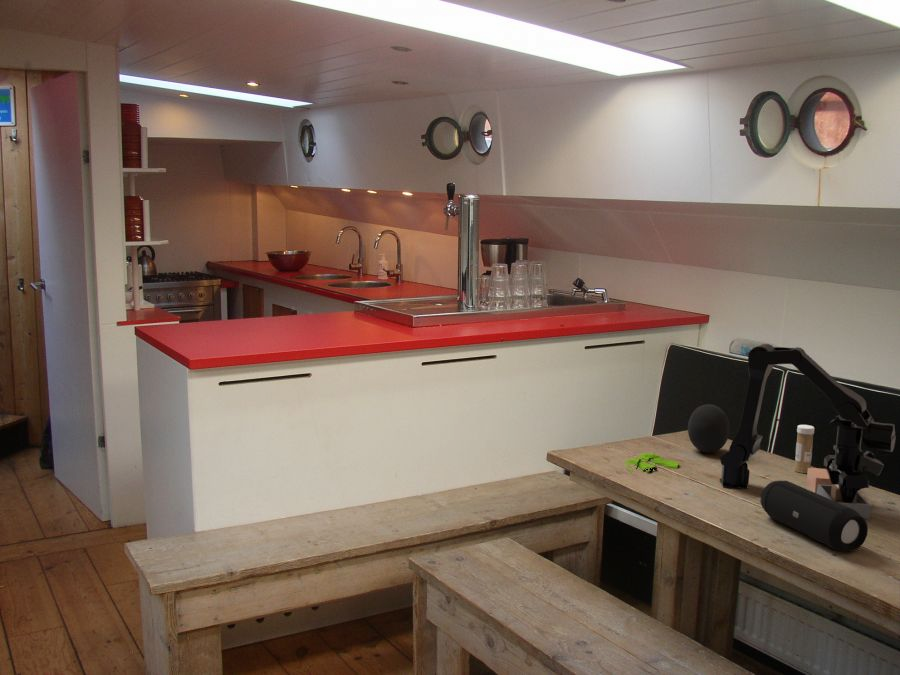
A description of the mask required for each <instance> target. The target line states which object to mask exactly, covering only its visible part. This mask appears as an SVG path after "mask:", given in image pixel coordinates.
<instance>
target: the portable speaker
mask: <svg viewBox="0 0 900 675" xmlns="http://www.w3.org/2000/svg"><path fill="white" fill-rule="evenodd" d="M763 488H764V489H763V490H762V492H761V496H760V504H761V507H762V509H763V510H764V511H765V513H766V514H767V515H768V517H770V518H771V519H773V520H775V521H777V522H780V523H781V524H784V525H785V526H788V527H790V528H792V529H793V530H795V531H798V532H799V533H801V534H804V535H805V536H808V537H810V538H812V539H814V540H815V541H817V542H820V543H822V544H824V545H826V546H828V547H830V548H832V549H834V550H836V551H839V552H841V551H842V552H853V551H856V550H858V549H859V548H861V546H863V544H864V543H865V542H866V538H867V536H868V532H869V531H868V529H869V528H868V524H867V521H866V518H863V517H862V516H861V515H860V514H859V513H858V512H857V511H855V510H854V509H851V508H849V507H847V506H844V505H842V504H840V503H838V502H835V501H833V500H831V499H828V498H826V497H824V496H821V495H819V494H817V493H814V492H813V491H812V490H811V489H810V490H809V489H807V488H805V487H803V486H801V485H798V484H795V483H793V482H791V481H787V480H774V481H771V482H769V483H768V484H767V485H765V487H763Z"/></svg>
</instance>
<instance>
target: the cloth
mask: <svg viewBox="0 0 900 675" xmlns="http://www.w3.org/2000/svg"><path fill="white" fill-rule="evenodd" d="M639 454H640V456H642V457H636V458H637V459H631V460H629V458H627V459H626V460H627V461H626V460H625V461H626V463H627V465H626V467H627V466H629V463H632V464H634V466H636V468H637V469H639V468H640V469H641V470H642V471H643V472H644V471H645V469H646V468H652V469H654V470H657V471H658V467H657V466H660V465H661V466H660V467H663V466H664V467H663V468H667V467H668V469H672V470H678V467H679V466H680V462H678V461H674V460H669V459H664V457H662V456H660V455H659V454H655V453H653V452H649V453H639ZM660 458H661V459H660ZM662 458H663V459H662ZM651 459H652V460H651ZM641 460H644V461H645V462H641ZM647 461H649V462H647ZM650 462H652V463H650ZM626 463H625V464H626ZM649 463H650V464H649ZM653 463H655V464H653ZM656 464H658V465H656ZM678 465H679V466H678ZM637 466H638V467H639V468H638V467H637ZM629 469H630V470H631V471H633V469H632V468H631V467H630V466H629ZM640 469H639V470H640ZM652 469H651V470H652ZM641 470H640V471H641ZM646 470H647V471H645V473H646V472H647V474H648V475H650V472H653V473H655V472H654V471H651V470H648V469H646ZM642 471H641V472H642Z"/></svg>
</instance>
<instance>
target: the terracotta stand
mask: <svg viewBox="0 0 900 675" xmlns="http://www.w3.org/2000/svg"><path fill="white" fill-rule="evenodd" d="M805 484H806V485H807V486H808V488H809V489H810V491H812V492H814V493H817V486H818V485H832V484H831V481H830V478H829V475H828V473H827V470H826V468H815V467H814V468H813V467H811V468H808V472H807V473H806V483H805Z"/></svg>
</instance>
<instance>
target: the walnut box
mask: <svg viewBox="0 0 900 675" xmlns="http://www.w3.org/2000/svg"><path fill="white" fill-rule="evenodd" d="M856 494H857V493H856ZM831 499H832V500H833V501H835V502H840V503H843V500H842V497H841V493H840V489H839V485H836V484H832V488H831ZM852 503H855V504H856V495H855V497H854V499H853V502H852Z"/></svg>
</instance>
